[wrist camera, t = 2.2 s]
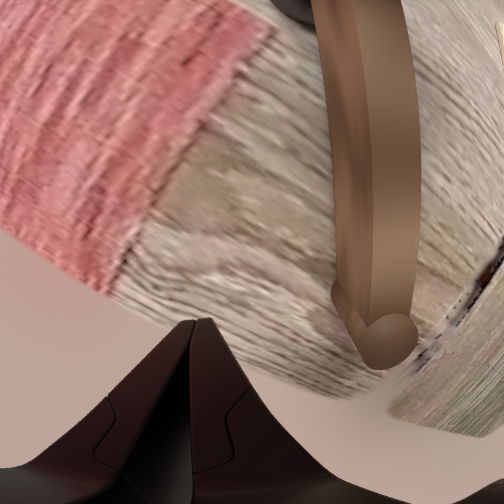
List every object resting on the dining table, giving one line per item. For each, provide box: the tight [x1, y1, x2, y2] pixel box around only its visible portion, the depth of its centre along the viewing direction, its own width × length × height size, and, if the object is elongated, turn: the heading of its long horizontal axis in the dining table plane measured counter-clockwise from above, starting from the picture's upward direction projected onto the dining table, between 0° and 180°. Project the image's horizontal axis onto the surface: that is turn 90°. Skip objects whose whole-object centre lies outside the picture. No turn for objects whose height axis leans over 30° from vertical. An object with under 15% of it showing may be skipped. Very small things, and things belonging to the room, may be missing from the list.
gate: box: [311, 0, 421, 370], centre depth 8 cm, size 18×3×8 cm, turn 7°
